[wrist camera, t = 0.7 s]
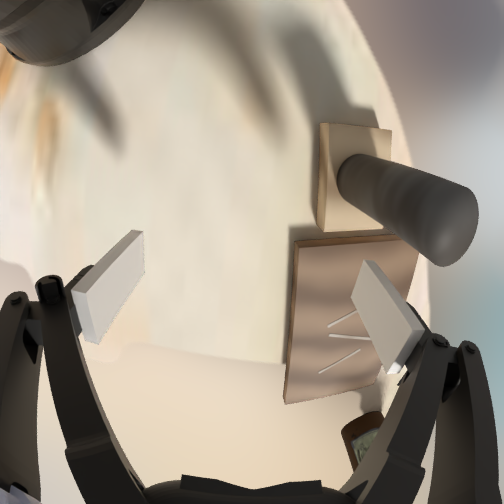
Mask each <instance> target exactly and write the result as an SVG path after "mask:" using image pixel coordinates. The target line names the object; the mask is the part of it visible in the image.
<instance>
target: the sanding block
mask: <svg viewBox="0 0 504 504" xmlns="http://www.w3.org/2000/svg"><path fill="white" fill-rule="evenodd" d="M391 139H392V130H386V129H379V128H372V127H364V126H356V125H346V124H336V123H320V138H319V181H318V203H317V221H316V224H317V225H318V226H319V227H320V228H321V229H322V230H323V232H336V231H353V230H371V229H383V226H384V227H385V228H387V229H388V230H390V231H391V232H393V233H394V234H395V235H397V236H398V237H399V238H401V239H402V240H404V241H405V242H406V243H408V244H409V245H410V246H412V247H413V248H414V249H416V250H417V251H418V252H420V253H421V254H422V255H424V256H425V257H426V258H427V259H429V260H430V261H431V262H433V263H434V264H435V265H437V266H441V267H444V266H449V265H451V264H453V263H455V262H456V261H458V260H459V259H460V258H461V256H463V255H464V253H465V252H466V251H467V249H468V247H469V246H470V244H471V242H472V240H473V238H474V235H475V233H476V229H477V225H478V216H479V211H478V203H477V200H476V197H475V195H474V194H473V192H472V191H471V190H470V189H468V188H467V187H464V186H462V185H459V184H457V183H454V182H452V181H449V180H446V179H443V178H441V177H438V176H435V175H432V174H430V173H427V172H424V171H421V170H418V169H415V168H412V167H408V166H405V165H402V164H399V163H395V162H392V161H390V158H391Z"/></svg>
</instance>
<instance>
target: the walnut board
mask: <svg viewBox="0 0 504 504" xmlns="http://www.w3.org/2000/svg"><path fill="white" fill-rule="evenodd" d="M418 255H419V252H418V251H417V250H416V249H414V248H413V247H412V246H410V245H409V244H408V243H406V242H405V241H404V240H402V239H401V238H399V237H398V236H397V235H395V234H392V235H377V236H362V237H347V238H332V239H318V240H304V241H295V244H294V265H293V283H292V299H291V313H290V326H289V339H288V350H287V361H286V372H285V382H284V391H283V399H284V402H285V404H292V403H298V402H303V401H308V400H313V399H318V398H323V397H327V396H331V395H336V394H340V393H344V392H347V391H351V390H355V389H359V388H362V387H366V386H369V385H372V384H373V383H374V381H375V379H376V377H377V375H378V373H379V370H380V368H381V366H382V363H381V361H380V358H379V356H378V354H377V352H376V349H375V347H374V345H373V343H372V341H371V338H370V336H369V334H368V332H367V330H366V328H365V326H364V323H363V321H362V319H361V317H360V315H359V313H358V311H357V309H356V307H355V305H354V303H353V301H352V299H351V295H352V292H353V290H354V287H355V284H356V281H357V278H358V275H359V272H360V269H361V266H362V263H363V260H364V259H365V260H372V261H375V262H376V264H377V265H378V266H379V267H380V269H381V270H382V271H383V272H384V274H385V275H386V276H387V278H388V279H389V280H390V281H391V283H392V284H393V285H394V287H395V288H396V289H397V291H398V292H399V293H400V295H401V296H402V297H403V299H404V300H405V302H406V299H407V296H408V292H409V289H410V285H411V282H412V278H413V275H414V271H415V267H416V263H417V259H418Z"/></svg>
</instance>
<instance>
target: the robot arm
mask: <svg viewBox="0 0 504 504" xmlns="http://www.w3.org/2000/svg"><path fill="white" fill-rule="evenodd" d="M143 2H144V0H0V43H2V44H3V45H4V46H5V47H6V49H7V51H8V52H9V53H10V54H11V55H12V56H13V57H14V58H15V59H17V60H19V61H21V62H23V63H27V64H31V65H36V66H44V67H46V66H55V65H60V64H63V63H66V62H69V61H71V60H74V59H76V58H78V57H80V56H82V55H84V54H86V53H88V52H89V51H91V50H93V49H94V48H96V47H97V46H99V45H100V44H102V43H103V42H104V41H106V40H107V39H108V38H109V37H111V36H112V35H113V34H114V33H115V32H117V31H118V30H119V29H120V28H121V27H122V26H123V25H124V24H125V23H126V22H127V21H128V20H129V19H130V18H131V17H132V16H133V15H134V13H135V12H136V11H137V10H138V8H139V7H140V6H141V4H142V3H143ZM144 273H145V264H144V239H143V231H137V230H131V231H130V232H129V233H128V234H127V235H126V236H125V237H123V238H122V239H121V240H120V241H119V242H118V243H117V244H116V245H115V246H114V247H113V248H112V249H111V250H110V251H109V252H108V253H107V254H106V255H105V256H103V257H102V258H101V259H100V260H99V261H98V262H97V263H96V264H95V265H89V266H87V267H85V268H84V269H82V270H81V271H80V272H79V273H78V274H77V275H76V276H75V277H74V278H73V280H71V281H70V282H69V283H68V284H67V285H66V286H65V287H64V286H63V281H62V279H61V277H59V276H57V275H48V276H45V277H42V278H41V279H39V280H38V281H37V282H36V284H35V289H36V292H37V295H38V299H39V301H38V302H37V301H29V299H28V296H27V294H26V293H25V292H21V291H18V292H13V293H11V294H10V295H9V296H8V297H7V298H6V299H5V301H4V304H3V306H2V308H1V310H0V504H41V503H40V502H41V488H40V475H39V465H38V451H37V400H38V385H39V375H40V366H41V358H42V352H43V346H44V354H45V359H46V366H47V372H48V376H49V382H50V387H51V392H52V396H53V400H54V404H55V408H56V412H57V416H58V419H59V422H60V425H61V429H62V432H63V435H64V438H65V441H66V445H67V449H65V455H66V459H67V462H68V465H69V467H70V470H71V472H72V474H73V477H74V479H75V481H76V484H77V486H78V488H79V490H80V492H81V494H82V497H83V498H84V501H85V503H86V504H412V503H413V501H414V499H415V497H416V495H417V493H418V490H419V488H420V486H421V483H422V481H423V478H424V475H425V469H424V468H422V467H421V463H422V460H423V457H424V455H425V452H426V448H427V446H428V443H429V440H430V437H431V434H432V430H433V427H434V424H435V420H436V437H435V452H434V463H433V471H432V480H431V486H430V493H429V498H428V504H502V499H501V494H500V490H499V486H498V481H499V473H498V472H499V470H498V449H497V448H498V447H497V435H496V427H495V419H494V413H493V407H492V401H491V395H490V390H489V386H488V381H487V377H486V373H485V369H484V365H483V361H482V357H481V354H480V351H479V349H478V347H477V346H476V345H475V344H474V343H472V342H470V341H462V343H461V344H460V346H459V347H458V348H456V347H452V346H450V344H449V342H448V340H446V339H445V337H443V336H441V335H439V334H436V333H432V332H431V331H430V330H429V328H428V327H427V325H426V324H425V322H424V321H423V320H422V318H421V317H420V315H418V313H417V311H416V310H415V308H414V307H413V306H411V305H410V304H409V303H408V302H405V300H404V299H403V297H402V296H401V295H400V293H399V292H398V291H397V289H396V288H395V287H394V285H393V284H392V283H391V281H390V280H389V279H388V278H387V276H386V275H385V274H384V272H383V271H382V270H381V269H380V267H379V266H378V265H377V264H376V262H375V261H372V260H365V259H364V260H363V263H362V266H361V269H360V272H359V275H358V278H357V281H356V284H355V287H354V290H353V292H352V295H351V299H352V301H353V303H354V305H355V307H356V309H357V311H358V313H359V315H360V317H361V319H362V321H363V323H364V326H365V328H366V330H367V332H368V334H369V336H370V338H371V341H372V343H373V345H374V347H375V349H376V352H377V354H378V356H379V358H380V361H381V363H382V365H383V367H384V370H385V372H386V374H394V373H399V372H400V371H401V369H402V368H403V366H404V365H406V367H407V369H408V370H407V371H406V373H405V374H404V376H403V377H402V379H401V380H400V381H399V383H398V384H397V385H398V386H399V385H400V386H399V388H398V391H397V393H396V395H395V398H394V400H393V402H392V404H391V406H390V408H389V411H388V413H387V415H386V417H385V419H384V421H383V423H382V425H381V427H380V429H379V430H378V432H377V434H376V436H375V438H374V440H373V442H372V443H371V445H370V447H369V449H368V450H367V452H366V454H365V455H364V457H363V459H362V460H361V462H360V464H359V465H358V467H357V468H356V470H355V471H354V473H353V474H352V476H351V477H350V479H349V480H348V481H347V482H346V484H345V485H344V486H343V487H342V488H341V489H340V490H339V491H337V490H334V489H331V488H327V487H322V485H321V480H316V481H302V482H288V483H283V484H279V485H275V486H270V487H265V488H260V489H248V488H244V487H240V486H237V485H233V484H230V483H227V482H223V481H220V480H217V479H210V478H202V477H195V476H189V475H183V474H182V477H181V480H174V481H167V482H163V483H158V484H155V485H153V486H150V487H149V488H145V486H144V484H143V483H142V481H141V480H140V478H139V477H138V475H137V474H136V472H135V471H134V469H133V468H132V466H131V464H130V463H129V461H128V459H127V457H126V455H125V454H124V452H123V450H122V448H121V446H120V444H119V442H118V440H117V438H116V436H115V434H114V432H113V430H112V428H111V425H110V423H109V421H108V419H107V417H106V414H105V412H104V410H103V407H102V405H101V402H100V400H99V398H98V395H97V393H96V390H95V387H94V385H93V382H92V379H91V376H90V374H89V370H88V367H87V364H86V361H85V358H84V355H83V351H82V348H81V345H80V341H79V338H78V336H79V335H80V333H81V332H82V333H83V336H84V339H85V341H88V342H91V343H95V344H98V345H99V343H100V342H101V340H102V338H103V337H104V335H105V333H106V332H107V330H108V329H109V327H110V325H111V324H112V322H113V320H114V319H115V317H116V316H117V314H118V313H119V311H120V309H121V308H122V306H123V305H124V303H125V302H126V300H127V299H128V297H129V296H130V294H131V293H132V291H133V290H134V288H135V287H136V285H137V284H138V282H139V281H140V279H141V278H142V276H143V275H144Z"/></svg>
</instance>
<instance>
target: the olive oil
mask: <svg viewBox="0 0 504 504" xmlns="http://www.w3.org/2000/svg"><path fill="white" fill-rule="evenodd" d="M384 419H385V418H384V417H383V415H382V413H381V412H371V413H367V414H365V415H362V416H360V417H358V418H356V419H354V420H353V421H351V422H349V423H348V424H347V425H345V426H344V428H343V429H342V430H341V434H342V438H343V440H344V443H345V446H346V449H347V452H348V455H349V459H350V462H351V465H352V468H353V472H354V471H355V470H356V468H357V467H358V465H359V464H360V462H361V460H362V459H363V457H364V455H365V454H366V452H367V450H368V449H369V447H370V445H371V443H372V442H373V440H374V438H375V436H376V434H377V432H378V430H379V429H380V427H381V425H382V423H383V421H384Z"/></svg>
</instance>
